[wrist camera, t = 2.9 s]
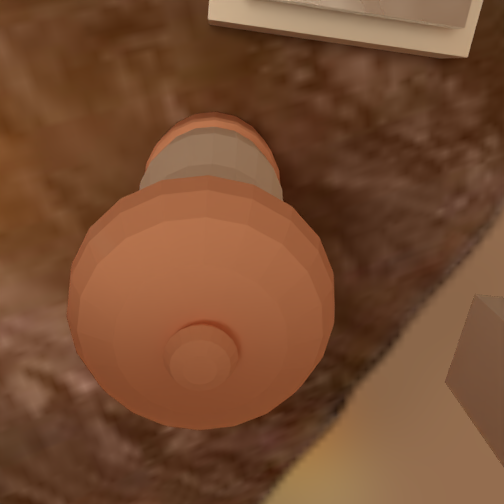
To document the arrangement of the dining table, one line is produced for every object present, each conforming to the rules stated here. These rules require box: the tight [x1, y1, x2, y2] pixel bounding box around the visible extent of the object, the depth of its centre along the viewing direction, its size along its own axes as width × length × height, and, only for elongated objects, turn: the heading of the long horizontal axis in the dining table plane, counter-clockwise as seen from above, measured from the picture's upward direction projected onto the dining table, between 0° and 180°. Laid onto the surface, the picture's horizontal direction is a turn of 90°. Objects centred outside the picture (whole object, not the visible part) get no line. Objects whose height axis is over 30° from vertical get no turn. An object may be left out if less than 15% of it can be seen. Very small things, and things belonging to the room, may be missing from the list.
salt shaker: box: [67, 112, 335, 430], centre depth 19 cm, size 7×7×19 cm
